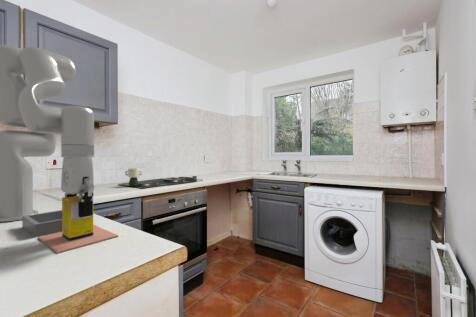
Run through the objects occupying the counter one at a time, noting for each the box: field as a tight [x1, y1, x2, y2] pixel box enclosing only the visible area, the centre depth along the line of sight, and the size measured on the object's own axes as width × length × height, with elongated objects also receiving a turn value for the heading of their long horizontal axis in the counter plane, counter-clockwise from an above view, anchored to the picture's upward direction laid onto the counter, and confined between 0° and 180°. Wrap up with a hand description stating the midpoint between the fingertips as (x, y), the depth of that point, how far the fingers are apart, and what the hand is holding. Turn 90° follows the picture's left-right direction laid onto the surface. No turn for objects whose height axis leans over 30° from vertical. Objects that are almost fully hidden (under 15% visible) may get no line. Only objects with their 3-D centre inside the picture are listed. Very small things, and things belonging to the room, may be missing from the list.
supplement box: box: [61, 194, 94, 241], centre depth 64 cm, size 6×6×11 cm
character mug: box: [125, 167, 143, 187], centre depth 167 cm, size 11×7×13 cm, turn 107°
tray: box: [21, 209, 62, 238], centre depth 74 cm, size 14×14×4 cm
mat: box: [37, 224, 119, 254], centre depth 64 cm, size 16×14×1 cm
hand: (78, 213), depth 64 cm, fingers open, 9 cm apart
